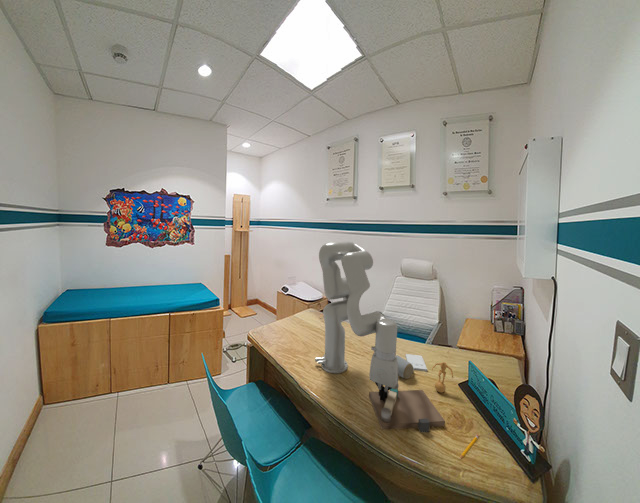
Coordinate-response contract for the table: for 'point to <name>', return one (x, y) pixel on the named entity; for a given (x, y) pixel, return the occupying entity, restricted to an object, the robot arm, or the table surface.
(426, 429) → the leg stop
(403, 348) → the table surface
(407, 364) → the grey cylinder
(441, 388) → the figurine
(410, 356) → the external hard drive
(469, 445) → the pencil
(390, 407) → the stool leg
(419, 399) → the brown wooden board
